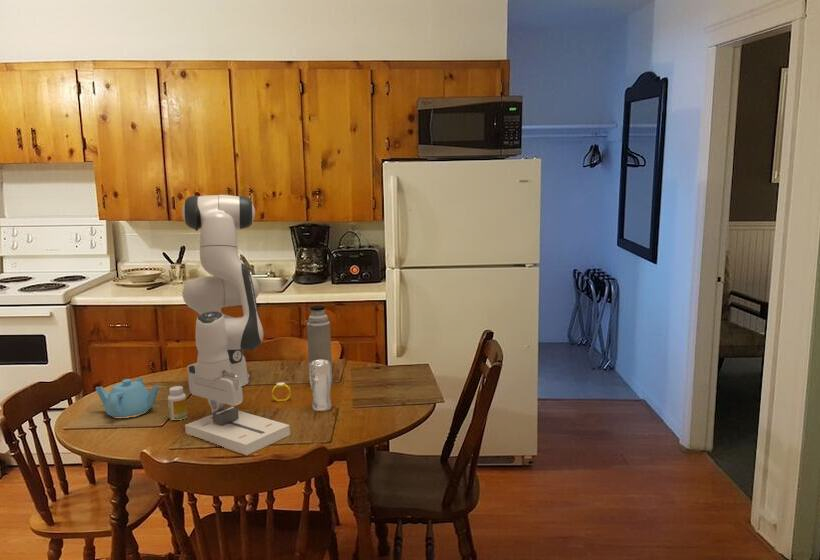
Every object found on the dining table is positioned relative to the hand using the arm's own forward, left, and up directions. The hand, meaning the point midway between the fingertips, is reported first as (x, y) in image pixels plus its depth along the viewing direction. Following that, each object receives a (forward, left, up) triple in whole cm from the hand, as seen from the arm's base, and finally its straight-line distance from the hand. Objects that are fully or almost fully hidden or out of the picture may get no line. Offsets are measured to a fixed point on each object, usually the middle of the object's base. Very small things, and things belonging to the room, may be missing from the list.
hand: (217, 413), depth 195 cm
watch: (-2, +27, -5) cm, 28 cm away
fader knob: (+3, 0, -1) cm, 4 cm away
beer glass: (+14, +29, -5) cm, 33 cm away
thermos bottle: (-2, +46, -5) cm, 47 cm away
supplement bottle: (-18, -1, -5) cm, 18 cm away
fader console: (+8, 0, -5) cm, 9 cm away
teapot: (-36, -6, -5) cm, 37 cm away
